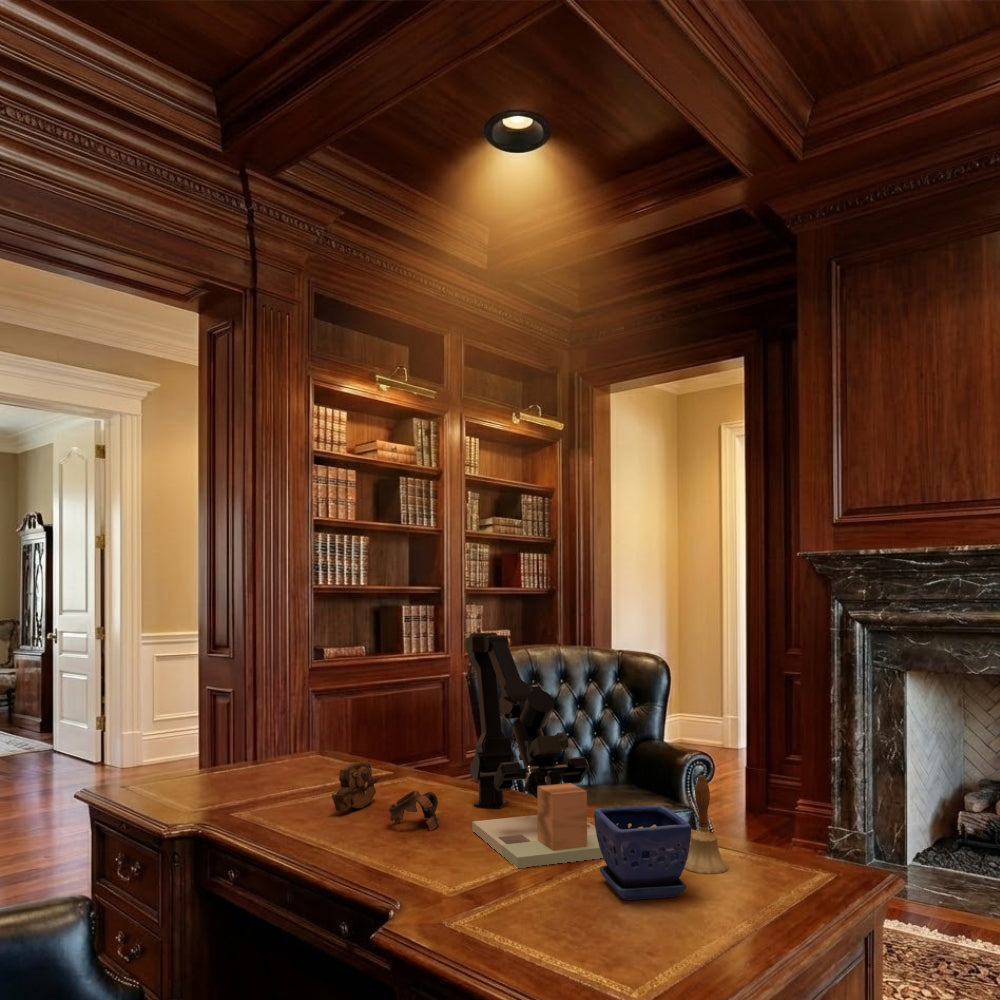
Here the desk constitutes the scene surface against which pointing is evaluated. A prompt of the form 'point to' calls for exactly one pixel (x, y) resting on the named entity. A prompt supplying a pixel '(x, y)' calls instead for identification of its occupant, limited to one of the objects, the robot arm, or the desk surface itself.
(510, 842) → the plate
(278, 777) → the desk surface
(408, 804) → the brown arched piece
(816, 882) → the desk surface
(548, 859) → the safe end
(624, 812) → the flower pot
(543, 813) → the terracotta block
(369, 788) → the wooden carving
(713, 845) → the hand bell
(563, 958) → the desk surface
